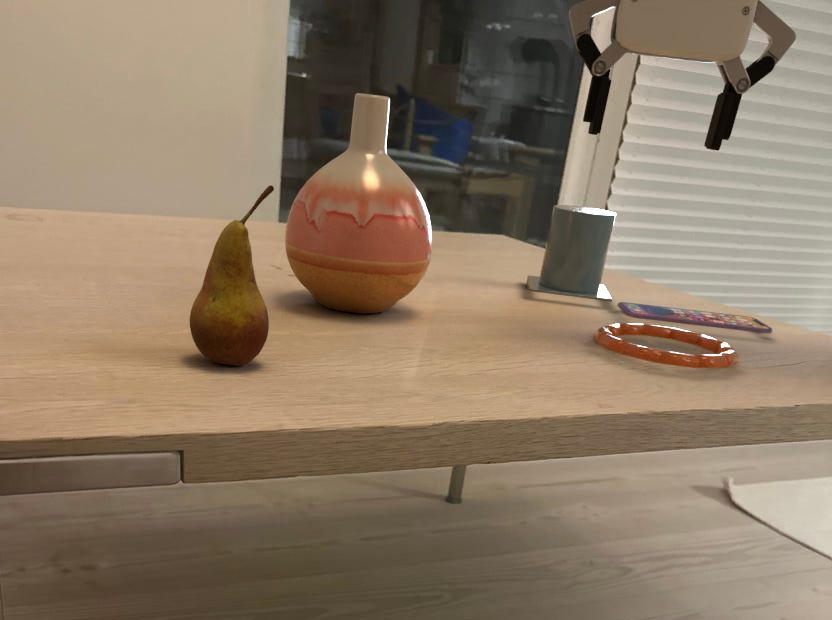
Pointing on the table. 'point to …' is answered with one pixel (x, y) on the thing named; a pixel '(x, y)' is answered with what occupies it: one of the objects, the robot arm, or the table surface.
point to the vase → (360, 223)
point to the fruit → (231, 300)
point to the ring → (720, 360)
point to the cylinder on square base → (575, 253)
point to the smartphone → (694, 317)
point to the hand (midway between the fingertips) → (652, 141)
